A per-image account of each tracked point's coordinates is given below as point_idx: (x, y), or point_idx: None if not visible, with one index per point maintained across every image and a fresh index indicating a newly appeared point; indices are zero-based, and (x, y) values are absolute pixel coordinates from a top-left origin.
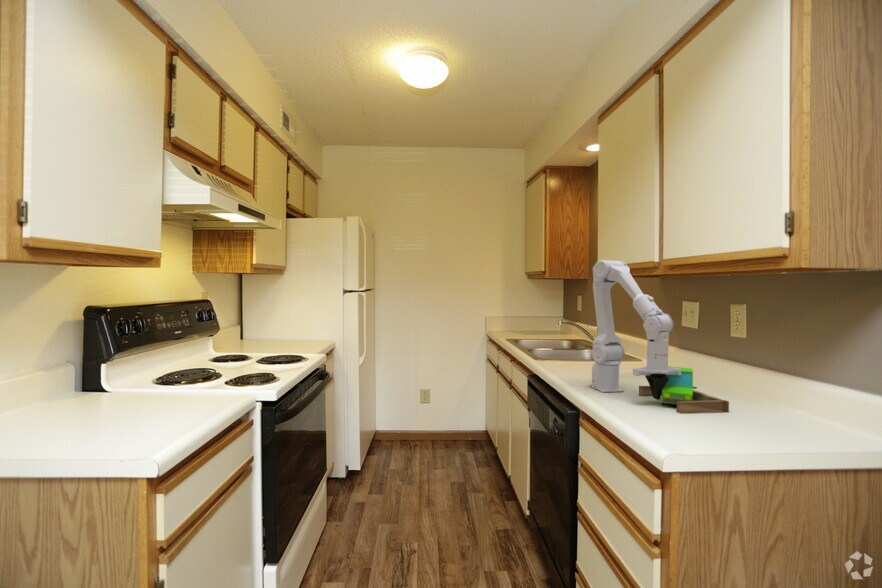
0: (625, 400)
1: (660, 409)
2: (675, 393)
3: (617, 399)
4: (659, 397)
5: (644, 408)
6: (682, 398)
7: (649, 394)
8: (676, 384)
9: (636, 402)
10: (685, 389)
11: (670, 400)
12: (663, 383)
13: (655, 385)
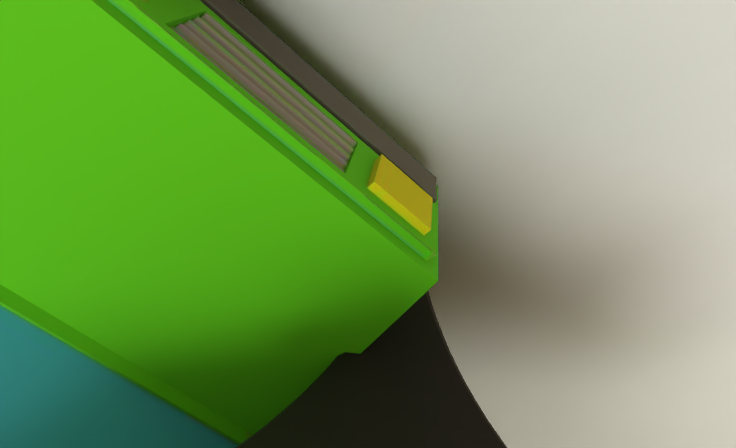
0: (614, 401)
1: (561, 71)
2: (273, 140)
3: (656, 435)
4: None
5: (727, 155)
6: (211, 28)
7: None
8: (64, 374)
9: (572, 338)
10: (3, 200)
11: (367, 130)
12: (341, 422)
13: (485, 427)
